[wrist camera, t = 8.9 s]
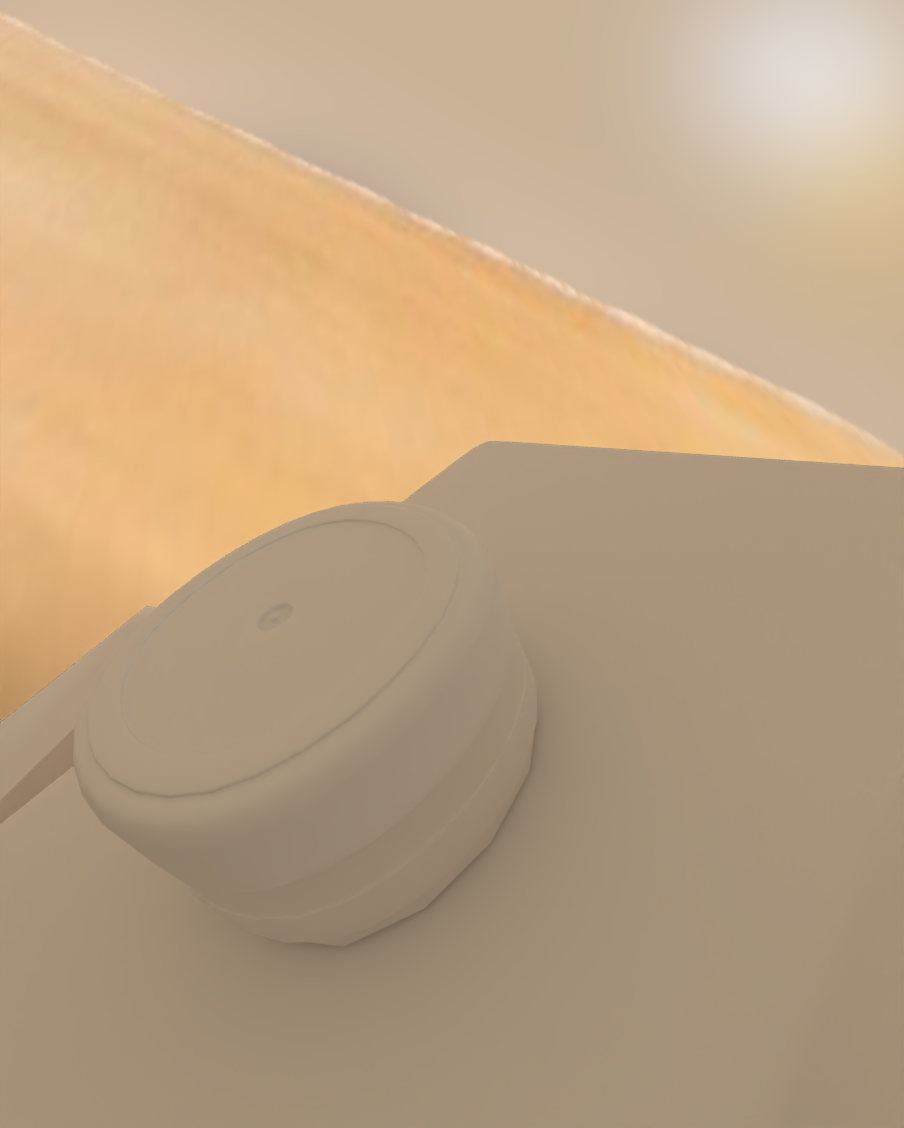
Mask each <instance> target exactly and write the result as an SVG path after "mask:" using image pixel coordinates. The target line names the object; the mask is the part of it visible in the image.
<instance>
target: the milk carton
mask: <svg viewBox="0 0 904 1128" xmlns="http://www.w3.org/2000/svg"><path fill="white" fill-rule="evenodd" d="M73 764H74V766H73V767H71V768H70V769H69V770H68V771H66V772H65V773H64V774H63V775H61V776H60V777H59V778H58V779H56V780H55V781H54V782H53V783H51V784H50V785H49V786H48V787H46V788H45V789H44V790H43V791H41V792H40V793H39V794H38V795H36V796H35V797H34V798H33V799H31V800H30V801H29V802H28V803H26V804H25V805H24V806H22V807H21V808H20V809H19V810H17V811H16V812H15V813H14V814H12V815H11V816H10V817H9V818H7V819H6V820H5V821H4V822H2V823H1V824H0V1128H904V468H899V467H884V466H869V465H853V464H838V463H823V462H808V461H793V460H777V459H762V458H747V457H732V456H717V455H702V454H687V453H672V452H656V451H641V450H626V449H611V448H596V447H581V446H566V445H551V444H537V443H521V442H501V441H489V442H485V443H483V444H481V445H479V446H477V447H475V448H473V449H472V450H470V451H469V452H468V453H466V454H465V455H464V456H462V457H461V458H459V459H458V460H457V461H455V462H454V463H453V464H451V465H450V466H449V467H447V468H446V469H445V470H443V471H442V472H441V473H439V474H438V475H437V476H435V477H434V478H433V479H431V480H430V481H429V482H428V483H426V484H425V485H424V486H422V487H421V488H420V489H419V490H417V491H416V492H415V493H413V494H412V495H411V496H410V497H408V498H407V499H406V500H404V501H403V502H402V503H401V502H393V501H392V502H362V503H355V504H348V505H341V506H337V507H333V508H329V509H326V510H322V511H318V512H314V513H311V514H309V515H306V516H303V517H301V518H298V519H296V520H293V521H291V522H288V523H285V524H283V525H281V526H279V527H277V528H275V529H273V530H271V531H269V532H267V533H265V534H263V535H261V536H259V537H257V538H255V539H253V540H252V541H250V542H248V543H246V544H245V545H243V546H241V547H239V548H238V549H236V550H234V551H233V552H231V553H229V554H228V555H226V556H225V557H223V558H222V559H220V560H219V561H217V562H216V563H214V564H213V565H211V566H210V567H208V568H207V569H205V570H204V571H202V572H201V573H199V574H198V575H197V576H195V577H194V578H193V579H191V580H190V581H189V582H187V583H186V584H185V585H184V586H182V587H181V588H180V589H178V590H177V591H176V592H174V593H173V594H172V595H171V596H169V597H168V598H167V599H166V600H165V601H164V602H163V603H161V604H160V605H159V606H158V607H157V608H156V609H155V610H154V611H152V612H151V613H150V614H149V615H148V616H147V617H146V618H144V619H143V620H142V622H141V623H140V624H139V625H138V626H137V627H136V628H135V629H134V630H133V631H132V632H131V633H130V634H129V635H128V636H127V637H126V638H125V639H124V640H123V641H122V642H121V643H120V644H119V646H118V647H117V648H116V650H115V651H114V652H113V653H112V655H111V656H110V657H109V659H108V660H107V661H106V663H105V664H104V665H103V666H102V668H101V669H100V670H99V672H98V673H97V675H96V677H95V679H94V681H93V683H92V684H91V686H90V688H89V690H88V692H87V694H86V696H85V697H84V699H83V702H82V705H81V709H80V712H79V715H78V719H77V722H76V725H75V728H74V743H73Z"/></svg>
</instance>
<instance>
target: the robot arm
mask: <svg viewBox="0 0 904 1128" xmlns="http://www.w3.org/2000/svg"><path fill="white" fill-rule="evenodd" d="M155 609H156V608H155V607H149V606H146V607H145V608H144V609H142V610H141V611H140V612H139V613H137V614H136V615H135V616H134V617H132V618H131V619H130V620H129V621H127V622H126V623H125V624H124V625H122V626H121V627H120V628H119V629H117V630H116V631H115V632H114V633H112V634H111V635H110V636H109V637H107V638H106V639H105V640H104V641H102V642H101V643H100V644H99V645H97V646H96V647H95V648H94V649H92V650H91V651H90V652H89V653H87V654H86V655H85V656H84V657H82V658H81V659H80V660H79V661H77V662H76V663H75V664H74V665H72V666H71V667H70V668H68V669H67V670H66V671H65V672H63V673H62V674H61V675H60V676H58V677H57V678H56V679H55V680H53V681H52V682H51V683H50V684H48V685H47V686H46V687H45V688H43V689H42V690H41V691H40V692H38V693H37V694H36V695H35V696H33V697H32V698H31V699H30V700H28V701H27V702H26V703H25V704H23V705H22V706H21V707H20V708H18V709H17V710H16V711H15V712H13V713H12V714H11V715H10V716H8V717H7V718H6V719H5V720H3V721H2V722H1V723H0V824H1V823H2V822H4V821H5V820H6V819H7V818H9V817H10V816H11V815H12V814H14V813H15V812H16V811H17V810H19V809H20V808H21V807H22V806H24V805H25V804H26V803H28V802H29V801H30V800H31V799H33V798H34V797H35V796H36V795H38V794H39V793H40V792H41V791H43V790H44V789H45V788H46V787H48V786H49V785H50V784H51V783H53V782H54V781H55V780H56V779H58V778H59V777H60V776H61V775H63V774H64V773H65V772H66V771H68V770H69V769H70V768H71V767H73V766H74V764H73V743H74V728H75V725H76V722H77V719H78V715H79V712H80V709H81V705H82V702H83V699H84V697H85V696H86V694H87V692H88V690H89V688H90V686H91V684H92V683H93V681H94V679H95V677H96V675H97V673H98V672H99V670H100V669H101V668H102V666H103V665H104V664H105V663H106V661H107V660H108V659H109V657H110V656H111V655H112V653H113V652H114V651H115V650H116V648H117V647H118V646H119V644H120V643H121V642H122V641H123V640H124V639H125V638H126V637H127V636H128V635H129V634H130V633H131V632H132V631H133V630H134V629H135V628H136V627H137V626H138V625H139V624H140V623H141V622H142V620H143V619H144V618H146V617H147V616H148V615H149V614H150V613H151V612H152V611H154V610H155Z"/></svg>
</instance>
